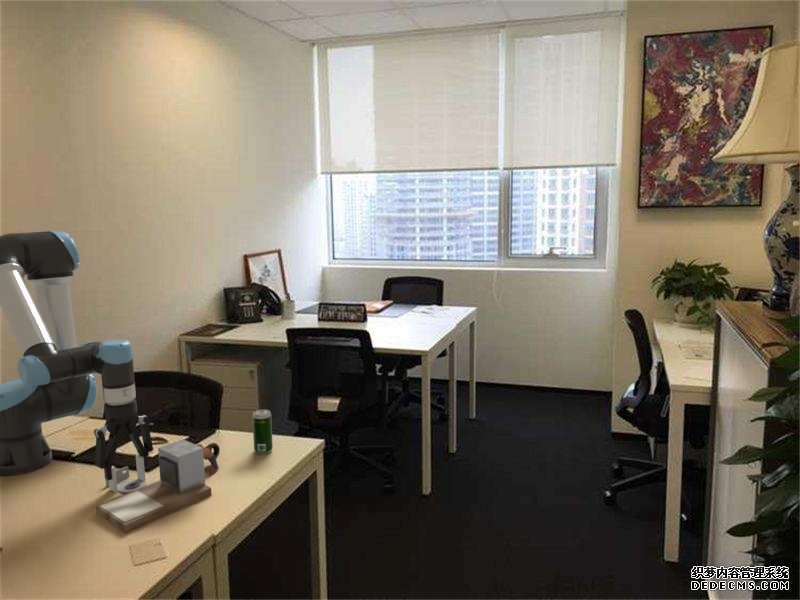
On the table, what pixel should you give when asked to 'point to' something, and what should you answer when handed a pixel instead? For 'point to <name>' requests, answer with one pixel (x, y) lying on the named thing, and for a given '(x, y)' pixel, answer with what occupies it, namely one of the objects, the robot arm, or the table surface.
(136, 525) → the brown wooden flat board
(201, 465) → the grey box
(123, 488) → the bracket
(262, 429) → the beer can
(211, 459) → the pottery mug
